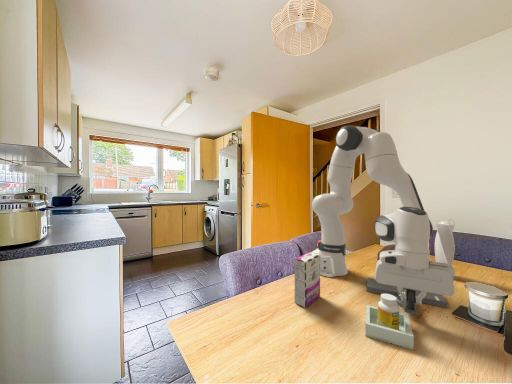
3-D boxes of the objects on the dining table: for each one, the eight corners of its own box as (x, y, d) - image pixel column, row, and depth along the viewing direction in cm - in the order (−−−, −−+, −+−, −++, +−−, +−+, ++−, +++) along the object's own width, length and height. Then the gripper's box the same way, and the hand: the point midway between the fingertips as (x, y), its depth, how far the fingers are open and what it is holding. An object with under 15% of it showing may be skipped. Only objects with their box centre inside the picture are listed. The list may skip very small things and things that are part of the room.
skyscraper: (460, 282, 96) (462, 220, 95) (438, 279, 98) (439, 219, 98) (450, 275, 104) (451, 217, 103) (430, 272, 106) (431, 216, 106)
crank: (396, 294, 80) (397, 274, 80) (413, 297, 78) (413, 276, 78) (401, 313, 68) (402, 289, 68) (421, 317, 66) (421, 293, 66)
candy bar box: (308, 292, 85) (309, 251, 85) (320, 296, 82) (320, 254, 82) (293, 303, 77) (293, 258, 77) (305, 308, 74) (306, 261, 73)
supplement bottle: (383, 321, 66) (383, 290, 66) (402, 330, 62) (403, 298, 61) (373, 327, 63) (374, 295, 63) (393, 338, 59) (394, 303, 58)
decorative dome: (390, 268, 112) (391, 249, 111) (370, 256, 131) (370, 240, 131) (427, 268, 112) (427, 249, 112) (401, 256, 132) (401, 240, 131)
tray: (365, 335, 60) (365, 323, 60) (366, 315, 70) (366, 304, 70) (413, 349, 55) (413, 336, 55) (406, 325, 65) (407, 314, 65)
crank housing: (366, 299, 80) (366, 293, 80) (366, 281, 95) (367, 277, 95) (454, 318, 68) (454, 312, 68) (438, 295, 83) (439, 289, 83)
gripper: (451, 261, 66) (450, 305, 66) (375, 251, 75) (374, 290, 75) (458, 267, 60) (457, 316, 60) (375, 256, 70) (374, 298, 70)
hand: (410, 301), depth 68 cm, fingers closed on crank, 2 cm apart
